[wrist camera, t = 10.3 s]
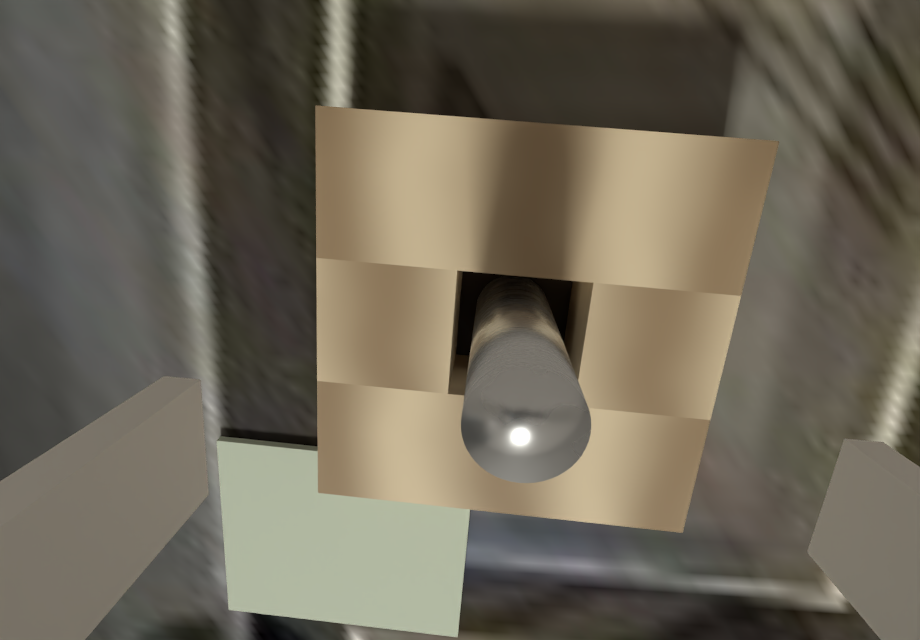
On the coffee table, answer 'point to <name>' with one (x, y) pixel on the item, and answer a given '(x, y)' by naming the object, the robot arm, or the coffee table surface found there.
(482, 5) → the coffee table surface
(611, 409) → the hole block
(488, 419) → the pin
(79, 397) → the coffee table surface
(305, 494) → the mat
